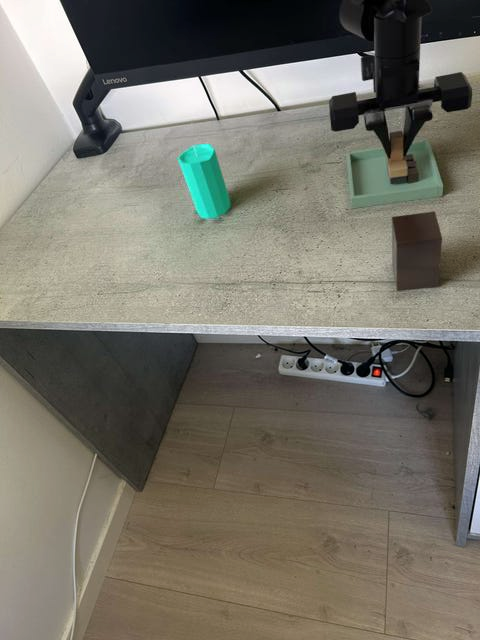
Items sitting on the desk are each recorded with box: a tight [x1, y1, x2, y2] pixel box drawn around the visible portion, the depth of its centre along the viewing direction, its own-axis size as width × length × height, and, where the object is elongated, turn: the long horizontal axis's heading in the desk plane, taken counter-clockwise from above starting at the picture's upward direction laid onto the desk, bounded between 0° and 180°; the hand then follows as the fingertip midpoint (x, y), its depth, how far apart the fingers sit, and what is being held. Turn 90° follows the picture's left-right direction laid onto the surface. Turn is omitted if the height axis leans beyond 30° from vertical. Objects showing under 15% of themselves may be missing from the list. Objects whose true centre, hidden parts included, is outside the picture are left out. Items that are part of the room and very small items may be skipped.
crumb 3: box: [407, 167, 419, 184], centre depth 75 cm, size 2×2×2 cm
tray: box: [345, 138, 444, 210], centre depth 77 cm, size 13×13×2 cm
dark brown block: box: [391, 211, 443, 292], centre depth 60 cm, size 5×5×8 cm
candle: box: [177, 143, 232, 220], centre depth 80 cm, size 6×6×12 cm
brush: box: [386, 130, 408, 184], centre depth 75 cm, size 6×3×7 cm, turn 176°
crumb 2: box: [406, 161, 416, 169], centre depth 77 cm, size 2×2×2 cm
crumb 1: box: [405, 154, 414, 161], centre depth 78 cm, size 2×2×2 cm
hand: (396, 156), depth 75 cm, fingers closed on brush, 2 cm apart
